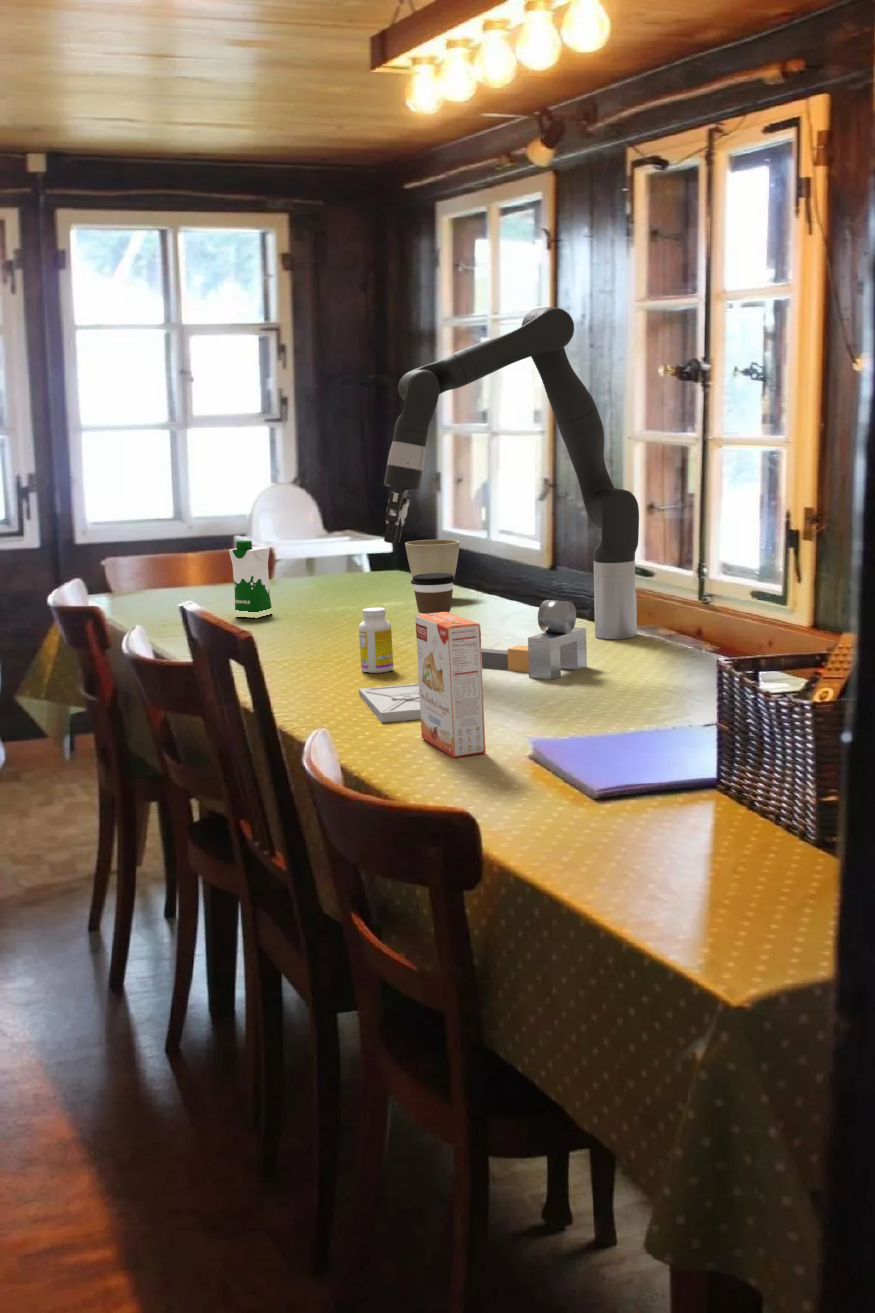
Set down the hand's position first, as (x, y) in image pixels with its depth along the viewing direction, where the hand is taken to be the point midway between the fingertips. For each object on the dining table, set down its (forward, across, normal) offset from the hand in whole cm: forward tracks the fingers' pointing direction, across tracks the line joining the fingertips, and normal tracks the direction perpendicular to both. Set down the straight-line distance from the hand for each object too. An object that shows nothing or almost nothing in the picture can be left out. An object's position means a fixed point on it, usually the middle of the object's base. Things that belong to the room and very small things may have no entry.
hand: (391, 542), depth 292 cm
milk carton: (+28, +68, +41) cm, 84 cm away
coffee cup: (+19, +48, -8) cm, 52 cm away
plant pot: (+16, +88, -4) cm, 90 cm away
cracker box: (+28, -71, -24) cm, 80 cm away
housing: (+19, -14, -39) cm, 46 cm away
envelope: (+28, -40, -13) cm, 51 cm away
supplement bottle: (+26, -8, -3) cm, 28 cm away
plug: (+21, -6, -26) cm, 34 cm away
